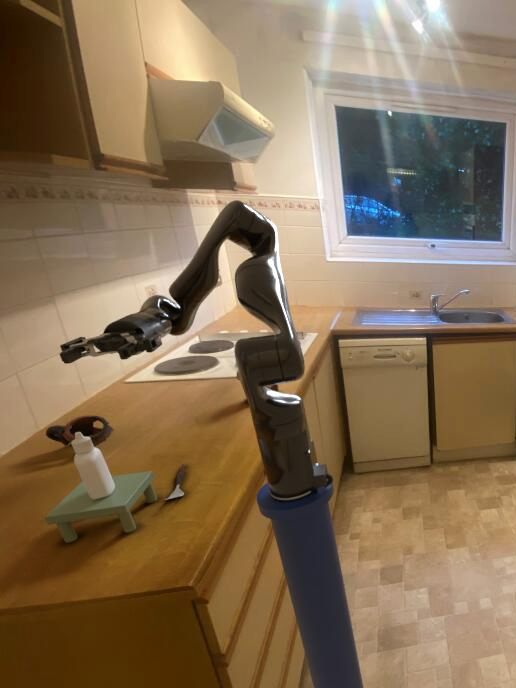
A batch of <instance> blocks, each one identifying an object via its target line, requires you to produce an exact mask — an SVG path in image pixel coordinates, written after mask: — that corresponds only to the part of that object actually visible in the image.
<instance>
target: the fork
mask: <svg viewBox="0 0 516 688" xmlns="http://www.w3.org/2000/svg"><path fill="white" fill-rule="evenodd" d="M184 477H185V463H182V464H181V466H180V468H179V471H178V473H177V475H176V487H175V489H174V491H172V493H171V494H169V496H168V497H167V498H164V499H163V500H164V501H168V500H172V499H176V498H180V497H183V496H184V495H185V492H184V491H182V489H180V485H181V484H182V482H183V480H184Z"/></svg>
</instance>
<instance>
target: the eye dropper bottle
mask: <svg viewBox="0 0 516 688" xmlns="http://www.w3.org/2000/svg"><path fill="white" fill-rule="evenodd" d="M70 444H71V446H72V448H73V451H74V453H75V455H74V457H73V462H74V465H75V467H76V469H77V472H78V475H79V476H80V478H81V480H82V481H83V483H84V485H85V488H86V490H87V492H88V494H89V496H90V498H91V499H92V500H97V499H100V498H104V497H107V496H109V495H110V494H111V493H112V492H113V491H114V489H115V484H114V482H113V479H112V477H111V476H112V474H111V472H110V470H109V467H108V465H107V462H106V460H105V458H104V455H103V453H102V451H101V449H99V448H98V447H96V446H95V447H94V445H93V443H92V440H91V438H90V437H84V436H83V435H82V434H81V432H76V433H75V440H73V441H72V442H71V443H70ZM82 481H81V482H82Z"/></svg>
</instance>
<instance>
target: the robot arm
mask: <svg viewBox="0 0 516 688" xmlns="http://www.w3.org/2000/svg"><path fill="white" fill-rule="evenodd" d="M226 240H228V241H229V242H232V243H234V244H235V245H237V246H239V247H241V248H243V249H244V250H246V251H248V252H249V254H251V255H252V256H250V257H248V258H247V259H245V260H243V261H242V262H241V263H240V264H239V265H238V266H237V268H236V270H235V273H234V286H235V292H236V297H237V301H238V303H239V304H240V305H241V307H242V308H243V309H244V310H245V311H246V312H248V314H249V315H251V316H252V317H254V318H255V319H256V320H258V321H259V322H261V323H262V324H264V325H266V327H268V328H269V329H270V330H272V332H273V333H274V334H267V335H259V336H249V337H243V338H239V339H237V340H236V342H235V344H234V350H233V351H234V358H235V363H236V367H237V370H238V371H239V374H240V377H241V380H242V383H243V386H244V389H245V392H246V395H245V397H246V396H247V397H246V400H247V399H248V400H247V403H248V407H249V411H250V416H251V420H252V425H253V429H254V433H255V436H256V441H257V445H258V449H259V453H260V456H261V460H262V464H263V468H264V470H263V475H264V477H266V480H267V481H266V482H267V483H268V485H269V490H270V495H271V497H272V499H274V500H276V501H279V502H292V501H297V500H300V499H303V498H305V497H307V496H309V495H311V494H315V493H318V488H319V487H325V488H326V487H327V486H329V485H330V484H331V483H332V482H333V483H334V477H333V475H331V474H329V472H328V467H327V464H319V462H318V458H317V453H316V447H315V442H314V439H311V435H310V430H309V423H308V419H307V414H306V407H305V403H304V400H303V399H302V397H300V396H298V395H297V394H293V393H289V392H288V393H287V392H281V391H279V392H277V391H273V390H271V389H268V388H266V387H265V386H270V385H276V384H278V385H281V384H287V383H292V382H296V381H299V380H301V379H302V378H303V377H304V374H305V369H306V365H305V358H304V353H303V350H302V346H301V343H300V339H299V337H298V334H297V330H296V327H295V323H294V321H293V317H292V313H291V308H290V302H289V297H288V291H287V285H286V282H285V277H284V275H283V271H282V266H281V261H280V260H281V259H280V254H279V236H278V229H277V226H276V224H275V223H274V222H273V220H271V219H270V218H269V217H267V216H266V215H264V214H262V212H260V211H258V210H257V209H255V208H253V207H252V206H250V205H249V204H247V203H245V202H244V201H242V200H239V199H235V200H231V201H230V202H229V203H227V204H226V205H225V206H224V207H223V208H222V210H221V211H220V212H219V214H218V215H217V216H216V218H215V220H214V221H213V223H212V224H211V226H210V228H209V230H208V231H207V233H206V234H205V236H204V238H203V240H202V241H201V243H200V245H199V247H198V248H197V250H196V251H195V254H194V255H193V257H192V258H191V260H190V262H189V263H187V266H186V267H185V268H184V269H183V271H182V272H180V274H179V275H178V276H177V277H176V278H175V279H174V280H173V282H171V285H170V286H169V288H168V294H169V295H170V297H171V298H172V299H173V300H172V299H171V298H169V297H167V296H165V295H163V294H162V295H161V294H156V295H151V296H149V297H148V298H146V300H144V302H143V303H142V305H141V307H140V309H139V311H137V312H135V313H130V314H127V315H125V316H123V317H121V318H119V319H116V320H115V321H112V322H110V323H109V324H108V325H107V326H105V328H104V330H103V332H102V333H101V334H99V335H98V336H94V337H88V338H86V337H85V336H79V337H76V338H74V339H71V340H69V341H67V342H65V343H62V344H60V345H59V348H60V350H61V352H59V356H60V357H59V358H60V359H61V361H62V362H63V364H73V363H74V362H76V361H78V360H80V359H82V358H85V357H92V358H96V357H100V356H103V355H108V354H110V355H112V354H118V356H119V359H120V360H121V361H122V360H123V361H124V360H129V358H131V357H133V356H138V355H140V354H142V353H144V352H146V353H149V354H151V353H153V352H155V351H156V350H158V349H159V348H160V347H161V346H162V345H163V341H162V339H163V338H165V337H166V336H168V335H170V336H172V337H178V336H182V335H183V336H184V335H185V334H186V333H188V332H189V331H190V329H191V328H192V326H193V324H194V323H195V319H196V315H197V313H198V311H199V308H200V306H201V305H202V304H203V302H204V301H205V300H206V299H207V298H208V296H210V294H211V293H212V292H213V291H214V289H216V287H217V286H218V285H217V284H218V283H219V279H220V263H219V258H220V256H219V255H220V251H221V247H222V246H223V244H224V243H225V242H226ZM96 349H97V350H98V351H96ZM244 389H243V390H244ZM245 392H244V393H245ZM327 480H328V481H327Z"/></svg>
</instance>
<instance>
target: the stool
mask: <svg viewBox="0 0 516 688" xmlns="http://www.w3.org/2000/svg"><path fill="white" fill-rule="evenodd" d="M111 477H112V479H113V482H114V484H115V489H114V491H113V492H112V493H111V494H110V495H109V496H107V497H104V498H100V499H97V500H92V499H91V498H90V496H89V494H88V492H87V490H86V488H85V485H84V483H83V481H81V482H80V483H79V484H78V485H77V486H75V487H74V488H73V489H72V490H71V491H70V492H69V493H68V494H67V495H66V496H65V497H64V498H63V499H62V500H61V501H60V502H59V503H57V505H56V506H54V507H53V508H52V509H51V510H50V511H49V513H48V514H46V515H45V516H44V519H45V521H46V523H47V525H48V526H49V525H50V526H52V525H56V526H57V528H58V531H59V532H60V535H61V537H62V539H63V541H64V542H65V543H66V544H67V543H68V544H69V543H72V542H74V541H76V540H77V539H78V538H79V537H78V535H77V533H76V531H75V528H74V526H73V524H72V522H77V521H83V520H89V519H96V518H102V517H109V516H118V519H119V521H120V523H121V526H122V528H123V531H124V533H125V534H129V533H132V532H134V531H136V530H137V525H136V522H135V520H134V518H133V515H132V512H131V509H132V507H134V505H135V503H136V502H137V501H138V500H139V498H140V497H141V496H142V495H143V496H144V498H145V500H146V503H147V504H152V503H156V501H158V497H157V494H156V491H155V488H154V486H153V483H152V482H153V481H154V480H155V478H156V476H155V474H154V471H153V470H147V471H138V472H132V473H126V474H125V473H124V474H117V475H111Z"/></svg>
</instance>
